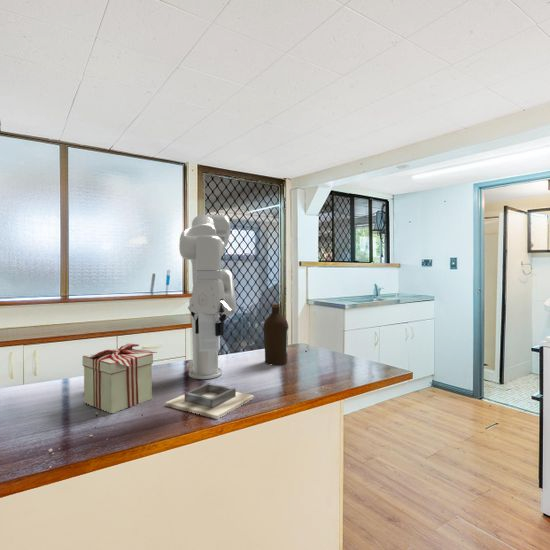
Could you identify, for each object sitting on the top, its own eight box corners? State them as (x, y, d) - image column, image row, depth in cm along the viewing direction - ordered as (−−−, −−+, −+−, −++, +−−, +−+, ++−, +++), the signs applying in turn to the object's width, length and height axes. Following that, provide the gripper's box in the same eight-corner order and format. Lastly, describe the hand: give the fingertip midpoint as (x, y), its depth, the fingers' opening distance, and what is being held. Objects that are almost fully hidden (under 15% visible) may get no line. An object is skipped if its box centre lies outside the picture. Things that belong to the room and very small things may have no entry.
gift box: (120, 417, 108) (119, 356, 107) (79, 405, 116) (77, 349, 116) (165, 398, 122) (164, 344, 122) (125, 388, 131) (124, 339, 131)
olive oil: (266, 366, 157) (265, 305, 156) (261, 360, 167) (261, 302, 166) (291, 364, 159) (291, 304, 158) (285, 358, 170) (284, 302, 169)
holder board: (165, 405, 116) (165, 394, 116) (205, 388, 131) (204, 378, 131) (217, 419, 106) (217, 406, 106) (253, 398, 121) (253, 387, 121)
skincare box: (220, 348, 120) (219, 310, 119) (218, 351, 116) (218, 312, 115) (200, 348, 120) (200, 310, 119) (198, 351, 116) (197, 312, 115)
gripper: (178, 276, 118) (179, 333, 119) (223, 277, 109) (224, 339, 110) (195, 275, 124) (196, 329, 125) (239, 276, 116) (239, 334, 116)
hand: (209, 333), depth 118 cm, fingers closed on skincare box, 7 cm apart
